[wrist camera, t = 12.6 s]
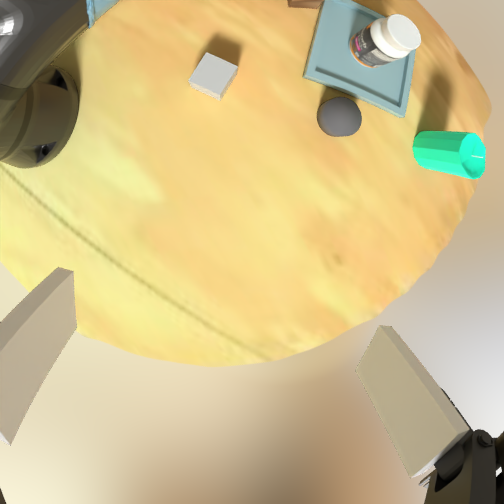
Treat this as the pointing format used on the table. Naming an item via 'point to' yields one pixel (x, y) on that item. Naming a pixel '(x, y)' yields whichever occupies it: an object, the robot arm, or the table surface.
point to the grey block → (213, 76)
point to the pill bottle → (384, 41)
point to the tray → (347, 68)
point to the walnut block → (305, 3)
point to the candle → (450, 152)
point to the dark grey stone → (339, 117)
